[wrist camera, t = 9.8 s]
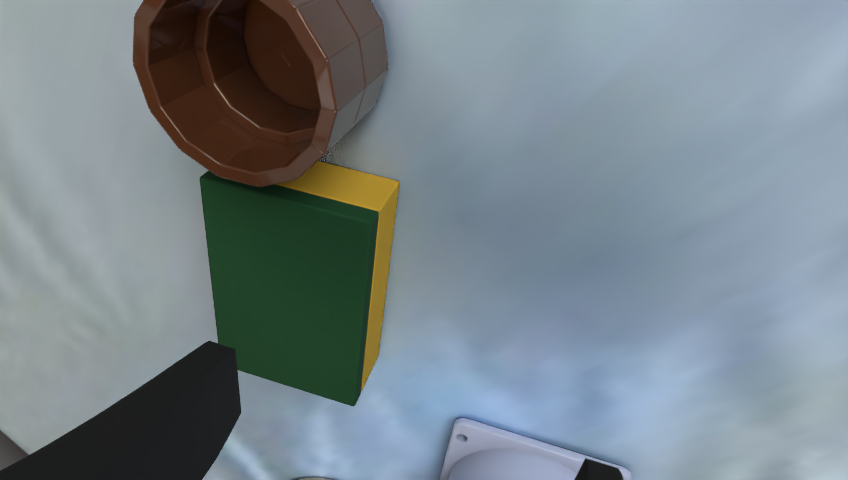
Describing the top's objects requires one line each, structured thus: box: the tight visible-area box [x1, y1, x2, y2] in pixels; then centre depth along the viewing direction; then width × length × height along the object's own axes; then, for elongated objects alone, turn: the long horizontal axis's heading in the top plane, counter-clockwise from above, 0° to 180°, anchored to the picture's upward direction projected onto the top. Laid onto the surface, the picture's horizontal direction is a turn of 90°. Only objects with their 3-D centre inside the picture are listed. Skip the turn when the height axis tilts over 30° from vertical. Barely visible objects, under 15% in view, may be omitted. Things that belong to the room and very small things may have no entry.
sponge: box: [200, 161, 399, 406], centre depth 21 cm, size 9×6×3 cm, turn 172°
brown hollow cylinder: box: [133, 0, 388, 187], centre depth 16 cm, size 6×6×5 cm
